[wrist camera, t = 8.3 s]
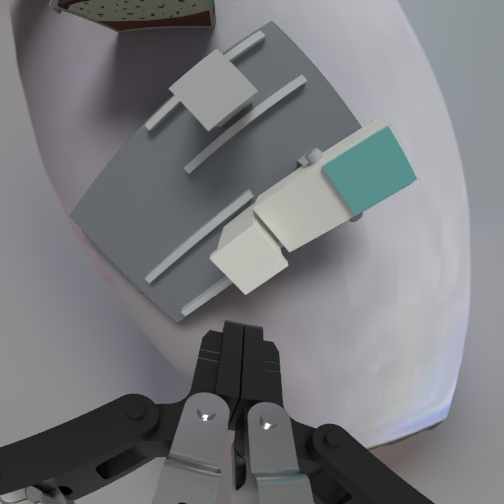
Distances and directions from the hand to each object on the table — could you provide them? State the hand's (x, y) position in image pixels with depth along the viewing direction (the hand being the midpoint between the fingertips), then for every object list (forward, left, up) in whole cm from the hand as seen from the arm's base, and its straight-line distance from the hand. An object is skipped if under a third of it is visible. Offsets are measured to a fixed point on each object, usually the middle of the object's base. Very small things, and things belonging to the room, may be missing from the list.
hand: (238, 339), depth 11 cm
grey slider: (-9, +5, -12) cm, 16 cm away
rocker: (0, +7, -8) cm, 11 cm away
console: (-4, 0, -15) cm, 16 cm away
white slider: (0, 0, -12) cm, 12 cm away
